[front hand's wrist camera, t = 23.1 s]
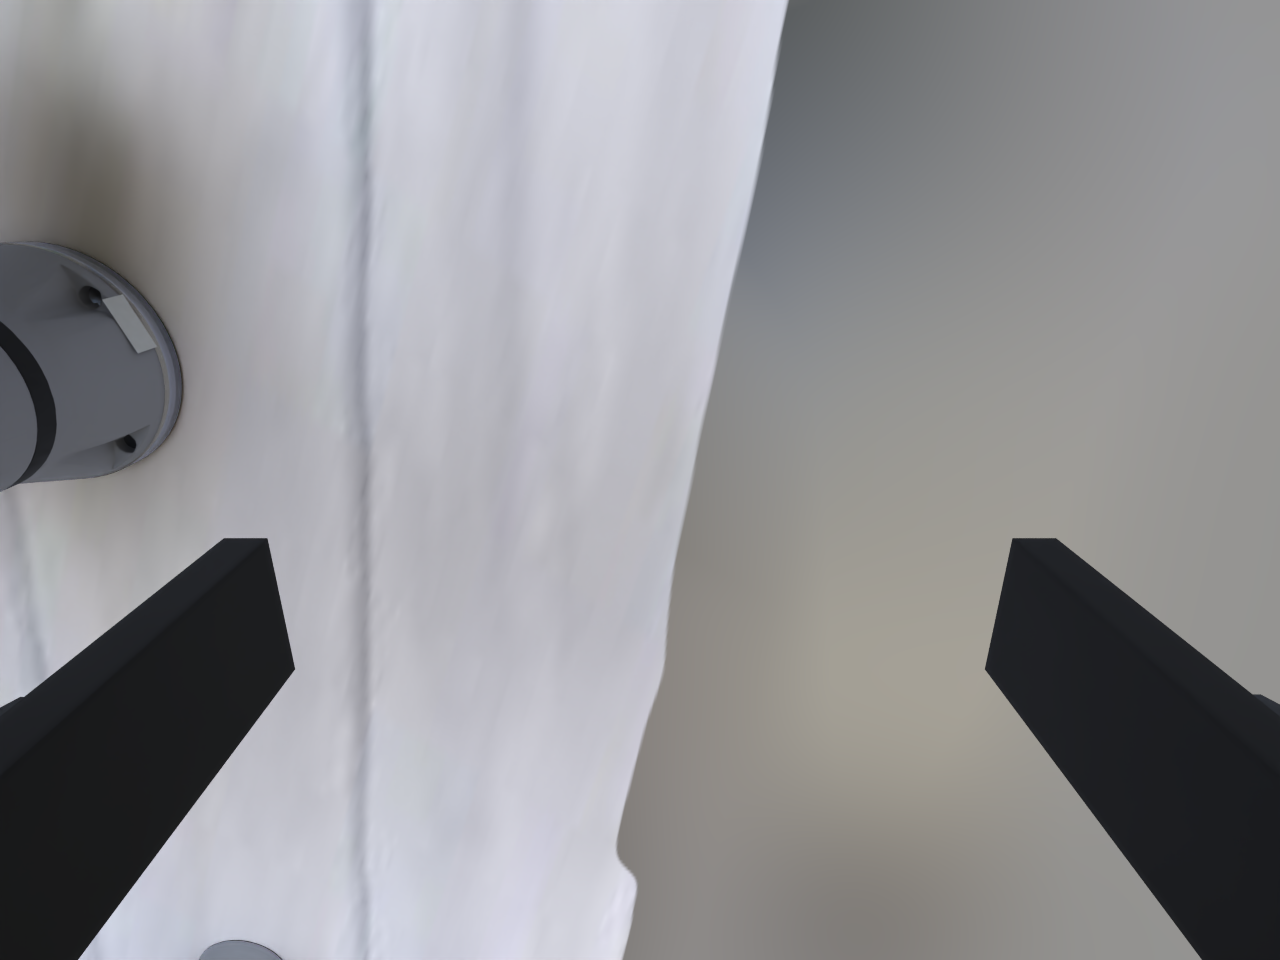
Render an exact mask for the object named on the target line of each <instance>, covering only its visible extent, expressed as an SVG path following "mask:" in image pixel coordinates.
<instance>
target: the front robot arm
mask: <svg viewBox="0 0 1280 960" xmlns="http://www.w3.org/2000/svg"><path fill="white" fill-rule="evenodd" d="M181 394H182V382H181V372H180V366H179V362H178V358H177V355H176V352H175V349H174V346H173V343H172V341H171V339H170V337H169V335H168V332H167V331H166V329H165V327H164V325H163V323H162V322H161V320H160V319H159V317H158V316H157V314H156V313H155V311H154V310H153V309H152V307H151V306H150V305H149V304H148V302H147V301H146V300H145V299H144V298H143V297H142V295H141V294H140V293H139V292H138V291H137V290H136V289H135V288H134V287H133V286H132V285H130V284H129V283H128V282H127V281H126V280H125V279H123V278H122V277H121V276H120V275H118V274H117V273H116V272H114V271H113V270H111V269H110V268H109V267H107V266H106V265H104V264H102V263H100V262H99V261H97V260H95V259H93V258H91V257H89V256H87V255H85V254H83V253H80V252H78V251H75V250H72V249H70V248H66V247H62V246H59V245H54V244H49V243H42V242H9V243H0V492H1V491H3V490H5V489H8V488H10V487H12V486H14V485H17V484H19V483H33V482H46V481H59V480H72V479H85V478H93V477H99V476H104V475H108V474H111V473H114V472H117V471H119V470H121V469H123V468H125V467H127V466H129V465H131V464H133V463H135V462H137V461H139V460H141V459H143V458H144V457H146V456H148V455H149V454H151V453H152V452H153V451H154V450H156V449H157V448H158V447H159V446H160V445H161V444H162V443H163V441H164V440H165V439H166V437H167V436H168V435H169V433H170V431H171V430H172V428H173V426H174V424H175V421H176V419H177V416H178V412H179V409H180V403H181ZM294 670H295V667H294V662H293V657H292V652H291V648H290V643H289V638H288V633H287V629H286V624H285V619H284V615H283V610H282V605H281V600H280V596H279V591H278V586H277V581H276V577H275V572H274V567H273V562H272V558H271V553H270V548H269V544H268V539H267V538H224V539H223V540H221V541H220V542H219V543H217V544H216V545H215V546H214V547H212V548H211V549H210V550H209V551H207V552H206V553H205V554H204V555H202V556H201V557H200V558H199V559H197V560H196V561H195V562H194V563H192V564H191V565H190V566H189V567H187V568H186V569H185V570H184V571H182V572H181V573H180V574H178V575H177V576H176V577H175V578H173V579H172V580H171V581H170V582H168V583H167V584H166V585H165V586H163V587H162V588H161V589H160V590H158V591H157V592H156V593H155V594H153V595H152V596H151V597H150V598H148V599H147V600H146V601H145V602H143V603H142V604H141V605H139V606H138V607H137V608H136V609H134V610H133V611H132V612H131V613H129V614H128V615H127V616H126V617H124V618H123V619H122V620H121V621H119V622H118V623H117V624H116V625H114V626H113V627H112V628H111V629H109V630H108V631H107V632H106V633H104V634H103V635H102V636H100V637H99V638H98V639H97V640H95V641H94V642H93V643H92V644H90V645H89V646H88V647H87V648H85V649H84V650H83V651H82V652H80V653H79V654H78V655H77V656H75V657H74V658H73V659H72V660H70V661H69V662H68V663H67V664H65V665H64V666H63V667H61V668H60V669H59V670H58V671H56V672H55V673H54V674H53V675H51V676H50V677H49V678H48V679H46V680H45V681H44V682H43V683H41V684H40V685H39V686H38V687H36V688H35V689H34V690H33V691H31V692H30V693H29V694H27V695H26V696H25V697H19V698H18V699H16V700H14V701H12V702H10V703H8V704H6V705H4V706H2V707H1V708H0V960H78V959H79V958H80V956H81V955H82V954H83V952H84V951H85V950H86V948H87V947H88V946H89V944H90V943H91V942H92V940H93V939H94V938H95V936H96V935H97V934H98V932H99V931H100V930H101V928H102V927H103V926H104V924H105V923H106V922H107V920H108V919H109V917H110V916H111V915H112V913H113V912H114V911H115V909H116V908H117V907H118V905H119V904H120V903H121V901H122V900H123V899H124V897H125V896H126V895H127V893H128V892H129V891H130V889H131V888H132V887H133V885H134V884H135V883H136V881H137V880H138V879H139V877H140V876H141V875H142V873H143V872H144V871H145V869H146V868H147V867H148V865H149V864H150V863H151V861H152V860H153V859H154V857H155V856H156V855H157V853H158V852H159V851H160V849H161V848H162V847H163V845H164V844H165V843H166V841H167V840H168V839H169V837H170V836H171V835H172V833H173V832H174V831H175V829H176V828H177V827H178V825H179V824H180V822H181V821H182V820H183V818H184V817H185V816H186V814H187V813H188V812H189V810H190V809H191V808H192V806H193V805H194V804H195V802H196V801H197V800H198V798H199V797H200V796H201V794H202V793H203V792H204V790H205V789H206V788H207V786H208V785H209V784H210V782H211V781H212V780H213V778H214V777H215V776H216V774H217V773H218V772H219V770H220V769H221V768H222V766H223V765H224V764H225V762H226V761H227V760H228V758H229V757H230V756H231V754H232V753H233V752H234V750H235V749H236V748H237V746H238V745H239V744H240V742H241V741H242V740H243V738H244V737H245V736H246V734H247V733H248V732H249V730H250V729H251V727H252V726H253V725H254V723H255V722H256V721H257V719H258V718H259V717H260V715H261V714H262V713H263V711H264V710H265V709H266V707H267V706H268V705H269V703H270V702H271V701H272V699H273V698H274V697H275V695H276V694H277V693H278V691H279V690H280V689H281V687H282V686H283V685H284V683H285V682H286V681H287V679H288V678H289V677H290V675H291V674H292V673H293V671H294ZM985 670H986V671H987V673H988V674H989V675H990V677H991V678H992V679H993V681H994V682H995V683H996V685H997V686H998V687H999V689H1000V690H1001V691H1002V693H1003V694H1004V695H1005V697H1006V698H1007V699H1008V701H1009V702H1010V703H1011V705H1012V706H1013V707H1014V709H1015V710H1016V711H1017V713H1018V714H1019V715H1020V717H1021V718H1022V719H1023V721H1024V722H1025V723H1026V725H1027V726H1028V727H1029V729H1030V730H1031V731H1032V733H1033V734H1034V736H1035V737H1036V738H1037V739H1038V741H1039V742H1040V744H1041V745H1042V746H1043V747H1044V749H1045V750H1046V752H1047V753H1048V754H1049V756H1050V757H1051V758H1052V760H1053V761H1054V762H1055V764H1056V765H1057V766H1058V768H1059V769H1060V770H1061V772H1062V773H1063V774H1064V776H1065V777H1066V778H1067V780H1068V781H1069V782H1070V784H1071V785H1072V786H1073V788H1074V789H1075V790H1076V792H1077V793H1078V794H1079V796H1080V797H1081V798H1082V800H1083V801H1084V802H1085V804H1086V805H1087V806H1088V808H1089V809H1090V810H1091V812H1092V813H1093V814H1094V816H1095V817H1096V818H1097V820H1098V821H1099V822H1100V824H1101V825H1102V826H1103V828H1104V829H1105V831H1106V832H1107V833H1108V835H1109V836H1110V837H1111V838H1112V840H1113V841H1114V843H1115V844H1116V845H1117V847H1118V848H1119V849H1120V851H1121V852H1122V853H1123V855H1124V856H1125V857H1126V859H1127V860H1128V861H1129V863H1130V864H1131V865H1132V867H1133V868H1134V869H1135V871H1136V872H1137V873H1138V875H1139V876H1140V877H1141V879H1142V880H1143V881H1144V883H1145V884H1146V885H1147V887H1148V888H1149V889H1150V891H1151V892H1152V893H1153V895H1154V896H1155V897H1156V899H1157V900H1158V901H1159V903H1160V904H1161V905H1162V907H1163V908H1164V909H1165V911H1166V912H1167V913H1168V915H1169V916H1170V917H1171V919H1172V920H1173V921H1174V923H1175V924H1176V926H1177V927H1178V928H1179V930H1180V931H1181V932H1182V934H1183V935H1184V936H1185V938H1186V939H1187V940H1188V942H1189V943H1190V944H1191V946H1192V947H1193V948H1194V950H1195V951H1196V952H1197V954H1198V955H1199V956H1200V958H1201V959H1202V960H1280V704H1278V703H1276V702H1274V701H1272V700H1270V699H1268V698H1266V697H1264V696H1263V695H1253V694H1251V693H1250V692H1249V691H1247V690H1246V689H1245V688H1244V687H1242V686H1241V685H1240V684H1239V683H1237V682H1236V681H1235V680H1234V679H1232V678H1231V677H1230V676H1229V675H1227V674H1226V673H1225V672H1223V671H1222V670H1221V669H1220V668H1219V667H1217V666H1216V665H1215V664H1213V663H1212V662H1211V661H1210V660H1208V659H1207V658H1206V657H1205V656H1203V655H1202V654H1201V653H1200V652H1198V651H1197V650H1196V649H1195V648H1193V647H1192V646H1191V645H1190V644H1188V643H1187V642H1186V641H1185V640H1183V639H1182V638H1181V637H1179V636H1178V635H1177V634H1176V633H1174V632H1173V631H1172V630H1171V629H1169V628H1168V627H1167V626H1166V625H1164V624H1163V623H1162V622H1161V621H1159V620H1158V619H1157V618H1156V617H1154V616H1153V615H1152V614H1151V613H1149V612H1148V611H1147V610H1145V609H1144V608H1143V607H1142V606H1141V605H1139V604H1138V603H1137V602H1135V601H1134V600H1133V599H1132V598H1130V597H1129V596H1128V595H1127V594H1125V593H1124V592H1123V591H1122V590H1120V589H1119V588H1118V587H1117V586H1115V585H1114V584H1113V583H1112V582H1110V581H1109V580H1108V579H1107V578H1105V577H1104V576H1103V575H1102V574H1100V573H1099V572H1098V571H1096V570H1095V569H1094V568H1093V567H1091V566H1090V565H1089V564H1088V563H1086V562H1085V561H1084V560H1083V559H1081V558H1080V557H1079V556H1078V555H1076V554H1075V553H1074V552H1073V551H1071V550H1070V549H1069V548H1067V547H1066V546H1065V545H1064V544H1063V543H1061V542H1060V541H1059V540H1057V539H1056V538H1013V539H1012V544H1011V548H1010V553H1009V558H1008V563H1007V567H1006V572H1005V577H1004V581H1003V586H1002V591H1001V596H1000V600H999V605H998V610H997V614H996V619H995V624H994V629H993V633H992V638H991V643H990V648H989V653H988V657H987V662H986V667H985Z"/></svg>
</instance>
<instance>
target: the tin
mask: <svg viewBox="0 0 1280 960" xmlns="http://www.w3.org/2000/svg"><path fill="white" fill-rule="evenodd" d="M199 960H281V959H280V957H278V956H277V955H276V954H275V953H273V952H272V951H270V950H269V949H267V948H265V947H263V946H260V945H258V944H255V943H251V942H246V941H225V942H221V943H217V944H215V945H213V946H211V947H209V948H208V949H207V950H206V951H204V953H203V954H202V955H201V957H200V959H199Z"/></svg>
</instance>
